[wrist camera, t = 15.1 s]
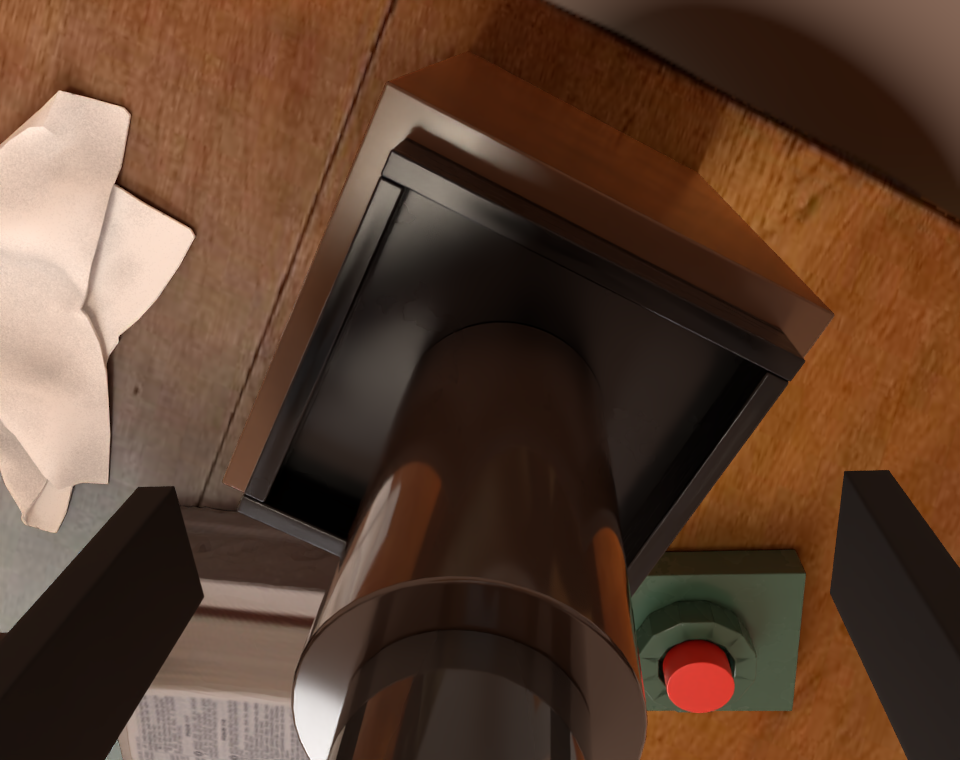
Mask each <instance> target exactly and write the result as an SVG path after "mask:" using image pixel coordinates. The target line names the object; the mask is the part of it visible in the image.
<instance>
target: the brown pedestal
mask: <svg viewBox="0 0 960 760" xmlns="http://www.w3.org/2000/svg"><path fill="white" fill-rule="evenodd" d="M833 317H834V313H833V312H832V311H831V310H830V309H829V308H828V307H827V306H826V305H825V304H824V303H823V302H822V301H821V300H820V299H819V298H818V297H817V296H816V295H815V294H814V293H813V292H812V291H811V289H810V288H809V287H808V286H807V285H806V284H805V283H804V282H803V281H802V280H801V279H800V278H799V277H798V276H797V275H796V274H795V273H794V272H793V271H792V270H791V269H790V268H789V267H788V266H787V265H786V264H785V263H784V262H783V261H782V260H781V258H780V257H779V256H778V255H777V254H776V253H775V252H774V251H773V250H772V249H771V248H770V247H769V246H768V245H767V244H766V243H765V242H764V241H763V240H762V239H761V238H760V237H759V236H758V235H757V234H756V233H755V232H754V231H753V230H752V228H751V227H750V226H749V225H748V224H747V223H746V222H745V221H744V220H743V219H742V218H741V217H740V216H739V215H738V214H737V213H736V212H735V211H734V210H733V209H732V208H731V207H730V206H729V205H728V204H727V203H726V202H725V201H724V200H723V198H722V197H721V196H720V195H719V194H718V193H717V192H716V191H715V190H714V189H713V188H712V187H711V186H710V185H709V184H708V183H707V182H706V181H705V180H704V179H703V178H702V177H701V176H700V175H699V174H698V173H697V172H696V171H694V170H692V169H690V168H688V167H686V166H684V165H683V164H681V163H679V162H677V161H675V160H673V159H671V158H669V157H668V156H666V155H664V154H662V153H660V152H658V151H656V150H654V149H653V148H651V147H649V146H647V145H645V144H643V143H641V142H639V141H638V140H636V139H634V138H632V137H630V136H628V135H626V134H624V133H622V132H621V131H619V130H617V129H615V128H613V127H611V126H609V125H607V124H606V123H604V122H602V121H600V120H598V119H596V118H594V117H592V116H591V115H589V114H587V113H585V112H583V111H581V110H579V109H577V108H576V107H574V106H572V105H570V104H568V103H566V102H564V101H562V100H560V99H559V98H557V97H555V96H553V95H551V94H549V93H547V92H545V91H544V90H542V89H540V88H538V87H536V86H534V85H532V84H530V83H529V82H527V81H525V80H523V79H521V78H519V77H517V76H515V75H513V74H512V73H510V72H508V71H506V70H504V69H502V68H500V67H498V66H497V65H495V64H493V63H491V62H489V61H487V60H485V59H483V58H482V57H480V56H478V55H476V54H474V53H472V52H470V51H467V52H464V53H461V54H459V55H456V56H453V57H451V58H448V59H446V60H443V61H440V62H438V63H435V64H432V65H430V66H427V67H425V68H422V69H419V70H417V71H414V72H412V73H409V74H406V75H404V76H401V77H398V78H396V79H393V80H391V81H388V82H386V83H385V86H384V88H383V91H382V93H381V96H380V98H379V100H378V103H377V105H376V108H375V110H374V113H373V115H372V117H371V120H370V122H369V125H368V127H367V130H366V132H365V134H364V137H363V139H362V142H361V144H360V147H359V149H358V151H357V154H356V156H355V159H354V161H353V164H352V166H351V168H350V171H349V173H348V176H347V178H346V181H345V183H344V185H343V188H342V190H341V193H340V195H339V198H338V200H337V203H336V205H335V207H334V210H333V212H332V215H331V217H330V220H329V222H328V224H327V227H326V229H325V232H324V234H323V237H322V239H321V241H320V244H319V246H318V249H317V251H316V254H315V256H314V258H313V261H312V263H311V266H310V268H309V271H308V273H307V275H306V278H305V280H304V283H303V285H302V288H301V290H300V292H299V295H298V297H297V300H296V302H295V305H294V307H293V309H292V312H291V314H290V317H289V319H288V322H287V324H286V326H285V329H284V331H283V334H282V336H281V339H280V341H279V343H278V346H277V348H276V351H275V353H274V356H273V358H272V360H271V363H270V365H269V368H268V370H267V373H266V375H265V378H264V380H263V382H262V385H261V387H260V390H259V392H258V395H257V397H256V399H255V402H254V404H253V407H252V409H251V412H250V414H249V416H248V419H247V421H246V424H245V426H244V429H243V431H242V433H241V436H240V438H239V441H238V443H237V446H236V448H235V450H234V453H233V455H232V458H231V460H230V463H229V465H228V467H227V470H226V472H225V475H224V477H223V480H222V483H223V484H226V485H228V486H230V487H232V488H235V489H237V490H239V491H241V492H244V494H243V496H242V498H241V500H240V503H239V505H238V507H237V511H238V512H239V513H241V514H244V515H246V516H248V517H250V518H253V519H255V520H257V521H260V522H262V523H264V524H266V525H269V526H271V527H273V528H275V529H278V530H280V531H282V532H284V533H287V534H289V535H291V536H293V537H296V538H298V539H300V540H302V541H305V542H307V543H309V544H312V545H314V546H316V547H318V548H321V549H323V550H325V551H327V552H330V553H332V554H334V555H336V556H340V553H341V550H342V548H343V545H344V543H345V540H346V538H347V535H348V533H349V530H350V527H351V525H352V522H353V520H354V517H355V515H356V512H357V510H358V507H359V505H360V502H361V499H362V497H363V494H364V492H365V489H366V487H367V484H368V482H369V479H370V476H371V474H372V471H373V469H374V466H375V464H376V461H377V459H378V456H379V454H380V451H381V448H382V446H383V443H384V441H385V438H386V436H387V433H388V431H389V428H390V426H391V423H392V420H393V418H394V415H395V413H396V410H397V408H398V405H399V403H400V400H401V397H402V395H403V392H404V390H405V387H406V385H407V382H408V380H409V377H410V375H411V373H412V371H413V370H414V368H415V366H416V364H417V363H418V362H419V361H420V359H421V358H422V357H423V355H424V354H425V353H426V352H427V351H428V350H429V349H431V348H432V347H433V346H434V345H435V344H437V343H438V342H439V341H441V340H442V339H443V338H445V337H447V336H449V335H451V334H453V333H454V332H457V331H459V330H462V329H464V328H467V327H471V326H475V325H479V324H485V323H494V322H502V323H516V324H523V325H527V326H530V327H534V328H537V329H540V330H542V331H545V332H547V333H550V334H551V335H553V336H555V337H557V338H559V339H560V340H562V341H563V342H565V343H566V344H567V345H569V346H570V347H571V348H572V349H574V350H575V351H576V352H577V353H578V354H579V355H580V356H581V357H582V359H583V360H584V361H585V362H586V364H587V365H588V366H589V367H590V369H591V371H592V373H593V374H594V376H595V378H596V380H597V382H598V385H599V387H600V390H601V394H602V398H603V402H604V409H605V416H606V423H607V430H608V438H609V445H610V452H611V459H612V466H613V473H614V480H615V487H616V494H617V501H618V509H619V516H620V523H621V530H622V537H623V544H624V551H625V558H626V565H627V572H628V580H629V587H630V594H631V597H632V596H633V595H634V593H635V592H636V591H637V589H638V588H639V586H640V585H641V584H642V582H643V581H644V580H645V578H646V577H647V576H648V574H649V573H650V572H651V570H652V569H653V567H654V566H655V565H656V563H657V562H658V561H659V559H660V558H661V557H662V555H663V554H664V552H665V551H666V550H667V548H668V547H669V546H670V544H671V543H672V542H673V540H674V539H675V537H676V536H677V535H678V533H679V532H680V531H681V529H682V528H683V527H684V525H685V524H686V523H687V521H688V520H689V518H690V517H691V516H692V514H693V513H694V512H695V510H696V509H697V508H698V506H699V505H700V503H701V502H702V501H703V499H704V498H705V497H706V495H707V494H708V493H709V491H710V490H711V488H712V487H713V486H714V484H715V483H716V482H717V480H718V479H719V478H720V476H721V475H722V473H723V472H724V471H725V469H726V468H727V467H728V465H729V464H730V463H731V461H732V460H733V459H734V457H735V456H736V454H737V453H738V452H739V450H740V449H741V448H742V446H743V445H744V444H745V442H746V441H747V439H748V438H749V437H750V435H751V434H752V433H753V431H754V430H755V429H756V427H757V426H758V424H759V423H760V422H761V420H762V419H763V418H764V416H765V415H766V414H767V412H768V411H769V410H770V408H771V407H772V405H773V404H774V403H775V401H776V400H777V399H778V397H779V396H780V395H781V393H782V392H783V390H784V389H785V388H786V386H787V385H788V381H791V380H792V379H793V378H794V376H795V375H796V374H797V372H798V371H799V369H800V368H801V367H802V365H803V364H804V363H805V360H804V359H803V358H804V357H805V356H806V354H807V353H808V351H809V350H810V349H811V347H812V346H813V345H814V343H815V342H816V341H817V339H818V338H819V336H820V335H821V334H822V332H823V331H824V330H825V328H826V327H827V326H828V324H829V323H830V321H831V320H832V319H833Z"/></svg>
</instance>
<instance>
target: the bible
mask: <svg viewBox="0 0 960 760" xmlns="http://www.w3.org/2000/svg"><path fill="white" fill-rule="evenodd" d="M180 509H181V512H182V516H183V520H184V523H185V527H186V531H187V535H188V538H189V542H190V546H191V549H192V553H193V557H194V560H195V564H196V568H197V571H198V575H199V579H200V582H201V586H202V590H203V593H204V598H203V600H202V602H201V603H200V605H199V607H198V608H197V610H196V612H195V613H194V615H193V616H192V618H191V620H190V621H189V623H188V625H187V626H186V628H185V630H184V631H183V633H182V634H181V636H180V638H179V639H178V641H177V643H176V644H175V646H174V648H173V649H172V651H171V652H170V654H169V656H168V657H167V659H166V661H165V662H164V664H163V666H162V667H161V669H160V670H159V672H158V674H157V675H156V677H155V679H154V680H153V682H152V683H151V685H150V687H149V688H148V690H147V692H146V693H145V695H144V697H143V698H142V700H141V701H140V703H139V705H138V706H137V708H136V710H135V711H134V713H133V715H132V716H131V718H130V719H129V721H128V723H127V724H126V726H125V728H124V729H123V731H122V733H121V734H120V736H119V737H118V741H119V745H120V749H121V753H122V758H123V760H309V758H308V757H307V755H306V753H305V751H304V749H303V747H302V745H301V743H300V741H299V738H298V735H297V732H296V729H295V726H294V721H293V715H292V708H291V686H292V681H293V676H294V671H295V668H296V665H297V663H298V660H299V657H300V655H301V652H302V650H303V647H304V645H305V642H306V640H307V637H308V635H309V632H310V629H311V627H312V624H313V622H314V619H315V617H316V614H317V612H318V609H319V607H320V604H321V601H322V599H323V596H324V594H325V591H326V589H327V586H328V584H329V581H330V578H331V576H332V573H333V571H334V568H335V566H336V563H337V561H338V558H339V556H336V555H334V554H332V553H330V552H327V551H325V550H323V549H321V548H318V547H316V546H314V545H312V544H309V543H307V542H305V541H302V540H300V539H298V538H296V537H293V536H291V535H289V534H287V533H284V532H282V531H280V530H278V529H275V528H273V527H271V526H269V525H266V524H264V523H262V522H260V521H257V520H255V519H253V518H250V517H248V516H246V515H244V514H241V513H239V512H238V511H222V510H216V509H211V508H208V507H204V508H202V509H201V508H198V507H194V506H192V507H190V508H188V507H185V506H180Z"/></svg>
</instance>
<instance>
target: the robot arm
mask: <svg viewBox="0 0 960 760" xmlns="http://www.w3.org/2000/svg"><path fill="white" fill-rule="evenodd" d="M830 594H831V596H832V599H833V601H834V603H835V605H836V607H837V609H838V611H839V613H840V616H841V618H842V620H843V622H844V624H845V626H846V628H847V631H848V633H849V635H850V637H851V639H852V641H853V643H854V646H855V648H856V650H857V652H858V654H859V656H860V658H861V660H862V663H863V665H864V667H865V669H866V671H867V673H868V675H869V678H870V680H871V682H872V684H873V686H874V688H875V690H876V693H877V695H878V697H879V699H880V701H881V703H882V705H883V707H884V710H885V712H886V714H887V716H888V718H889V720H890V722H891V725H892V727H893V729H894V731H895V733H896V735H897V737H898V740H899V742H900V744H901V746H902V748H903V750H904V752H905V755H906V757H907V759H908V760H960V568H959V567H958V565H957V564H956V563H955V561H954V560H953V558H952V557H951V556H950V554H949V553H948V552H947V550H946V549H945V547H944V546H943V545H942V543H941V542H940V540H939V539H938V538H937V536H936V535H935V534H934V532H933V531H932V529H931V528H930V527H929V525H928V524H927V523H926V521H925V520H924V518H923V517H922V516H921V514H920V513H919V511H918V510H917V509H916V507H915V506H914V505H913V503H912V502H911V500H910V499H909V498H908V496H907V495H906V493H905V492H904V491H903V489H902V488H901V487H900V485H899V484H898V482H897V481H896V480H895V478H894V477H893V476H892V474H891V473H890V471H889V470H876V471H844V479H843V487H842V496H841V504H840V513H839V521H838V530H837V538H836V547H835V555H834V563H833V572H832V580H831V589H830ZM203 598H204V593H203V590H202V586H201V582H200V579H199V575H198V571H197V568H196V564H195V560H194V557H193V553H192V549H191V546H190V542H189V538H188V535H187V531H186V527H185V523H184V520H183V516H182V512H181V509H180V505H179V501H178V498H177V494H176V490H175V487H174V486H167V487H138V488H137V489H136V490H135V491H134V492H133V494H132V495H131V496H130V497H129V498H128V499H127V500H126V501H125V503H124V504H123V505H122V506H121V507H120V508H119V509H118V510H117V511H116V513H115V514H114V515H113V516H112V517H111V518H110V519H109V520H108V522H107V523H106V524H105V525H104V526H103V527H102V528H101V529H100V531H99V532H98V533H97V534H96V535H95V536H94V537H93V538H92V539H91V541H90V542H89V543H88V544H87V545H86V546H85V547H84V548H83V550H82V551H81V552H80V553H79V554H78V555H77V556H76V557H75V558H74V560H73V561H72V562H71V563H70V564H69V565H68V566H67V567H66V569H65V570H64V571H63V572H62V573H61V574H60V575H59V576H58V577H57V579H56V580H55V581H54V582H53V583H52V584H51V585H50V586H49V588H48V589H47V590H46V591H45V592H44V593H43V594H42V595H41V596H40V598H39V599H38V600H37V601H36V602H35V603H34V604H33V605H32V607H31V608H30V609H29V610H28V611H27V612H26V613H25V614H24V615H23V617H22V618H21V619H20V620H19V621H18V622H17V623H16V624H15V626H14V627H13V628H12V629H11V630H10V631H9V632H8V633H0V760H105V759H106V757H107V755H108V754H109V752H110V751H111V749H112V747H113V746H114V744H115V742H116V741H117V739H118V737H119V736H120V734H121V733H122V731H123V729H124V728H125V726H126V724H127V723H128V721H129V719H130V718H131V716H132V715H133V713H134V711H135V710H136V708H137V706H138V705H139V703H140V701H141V700H142V698H143V697H144V695H145V693H146V692H147V690H148V688H149V687H150V685H151V683H152V682H153V680H154V679H155V677H156V675H157V674H158V672H159V670H160V669H161V667H162V666H163V664H164V662H165V661H166V659H167V657H168V656H169V654H170V652H171V651H172V649H173V648H174V646H175V644H176V643H177V641H178V639H179V638H180V636H181V634H182V633H183V631H184V630H185V628H186V626H187V625H188V623H189V621H190V620H191V618H192V616H193V615H194V613H195V612H196V610H197V608H198V607H199V605H200V603H201V602H202V600H203Z"/></svg>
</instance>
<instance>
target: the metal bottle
mask: <svg viewBox="0 0 960 760" xmlns="http://www.w3.org/2000/svg"><path fill="white" fill-rule="evenodd" d="M291 708H292V715H293V721H294V726H295V729H296V732H297V735H298V738H299V741H300V743H301V745H302V747H303V749H304V751H305V753H306V755H307V757H308V758H309V760H640V758H641V755H642V751H643V748H644V744H645V741H646V733H647V722H648V721H647V710H646V700H645V693H644V686H643V679H642V672H641V665H640V658H639V651H638V643H637V636H636V629H635V622H634V615H633V608H632V601H631V594H630V587H629V580H628V572H627V565H626V558H625V551H624V544H623V537H622V530H621V523H620V516H619V509H618V501H617V494H616V487H615V480H614V473H613V466H612V459H611V452H610V445H609V438H608V430H607V423H606V416H605V409H604V402H603V398H602V394H601V390H600V387H599V385H598V382H597V380H596V378H595V376H594V374H593V373H592V371H591V369H590V367H589V366H588V365H587V364H586V362H585V361H584V360H583V359H582V357H581V356H580V355H579V354H578V353H577V352H576V351H575V350H574V349H572V348H571V347H570V346H569V345H567V344H566V343H565V342H563V341H562V340H560V339H559V338H557V337H555V336H553V335H551V334H550V333H547V332H545V331H542V330H540V329H537V328H534V327H530V326H527V325H523V324H516V323H502V322H494V323H485V324H479V325H475V326H471V327H467V328H464V329H462V330H459V331H457V332H454V333H453V334H451V335H449V336H447V337H445V338H443V339H442V340H441V341H439V342H438V343H437V344H435V345H434V346H433V347H432V348H431V349H429V350H428V351H427V352H426V353H425V354H424V355H423V357H422V358H421V359H420V361H419V362H418V363H417V364H416V366H415V368H414V370H413V371H412V373H411V375H410V377H409V380H408V382H407V385H406V387H405V390H404V392H403V395H402V397H401V400H400V403H399V405H398V408H397V410H396V413H395V415H394V418H393V420H392V423H391V426H390V428H389V431H388V433H387V436H386V438H385V441H384V443H383V446H382V448H381V451H380V454H379V456H378V459H377V461H376V464H375V466H374V469H373V471H372V474H371V476H370V479H369V482H368V484H367V487H366V489H365V492H364V494H363V497H362V499H361V502H360V505H359V507H358V510H357V512H356V515H355V517H354V520H353V522H352V525H351V527H350V530H349V533H348V535H347V538H346V540H345V543H344V545H343V548H342V550H341V553H340V556H339V558H338V561H337V563H336V566H335V568H334V571H333V573H332V576H331V578H330V581H329V584H328V586H327V589H326V591H325V594H324V596H323V599H322V601H321V604H320V607H319V609H318V612H317V614H316V617H315V619H314V622H313V624H312V627H311V629H310V632H309V635H308V637H307V640H306V642H305V645H304V647H303V650H302V652H301V655H300V657H299V660H298V663H297V665H296V668H295V671H294V676H293V681H292V686H291Z"/></svg>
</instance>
